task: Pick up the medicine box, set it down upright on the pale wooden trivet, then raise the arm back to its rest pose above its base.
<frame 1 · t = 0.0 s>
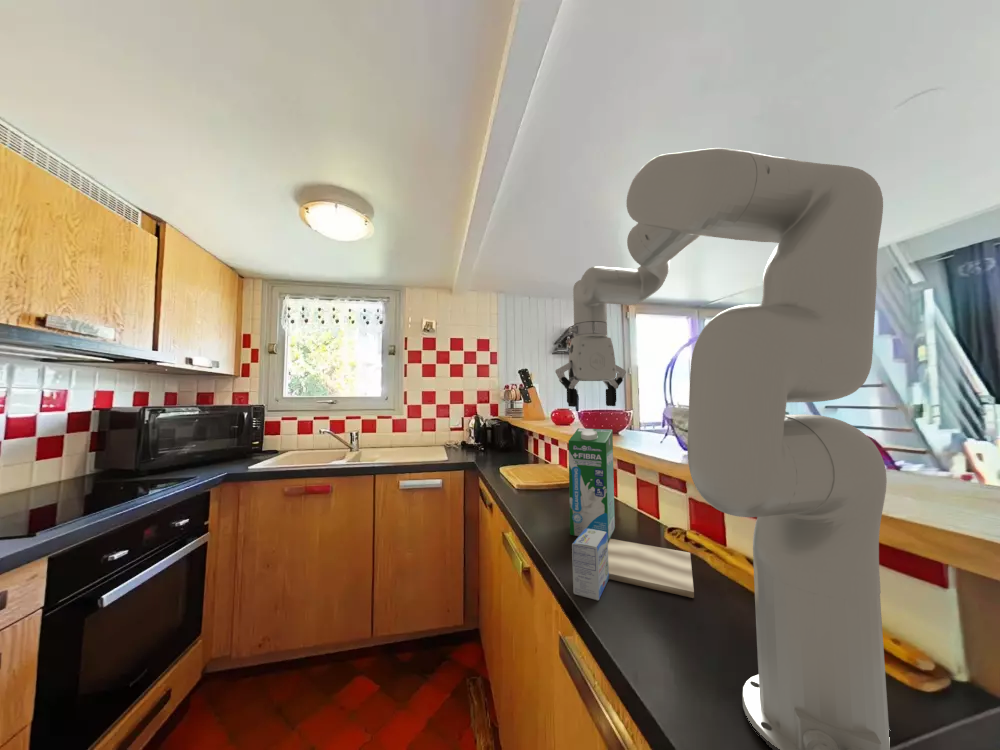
hand: (591, 406, 80), 31 cm above the counter, tool pointing down, fingers open, 9 cm apart
milk carton: (592, 532, 86), on the counter
medicine box: (591, 588, 61), on the counter
trivet: (645, 566, 68), on the counter
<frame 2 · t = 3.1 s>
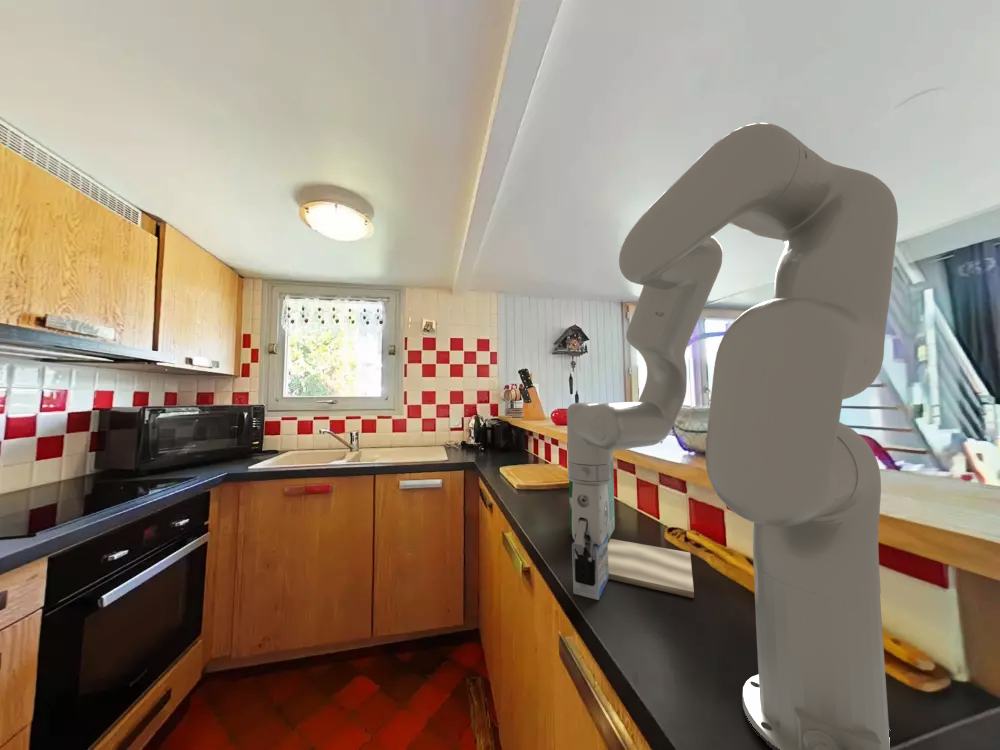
hand: (590, 570, 61), 3 cm above the counter, tool pointing down, fingers closed on medicine box, 8 cm apart
medicine box: (591, 587, 61), on the counter, touching gripper
everything else where it was.
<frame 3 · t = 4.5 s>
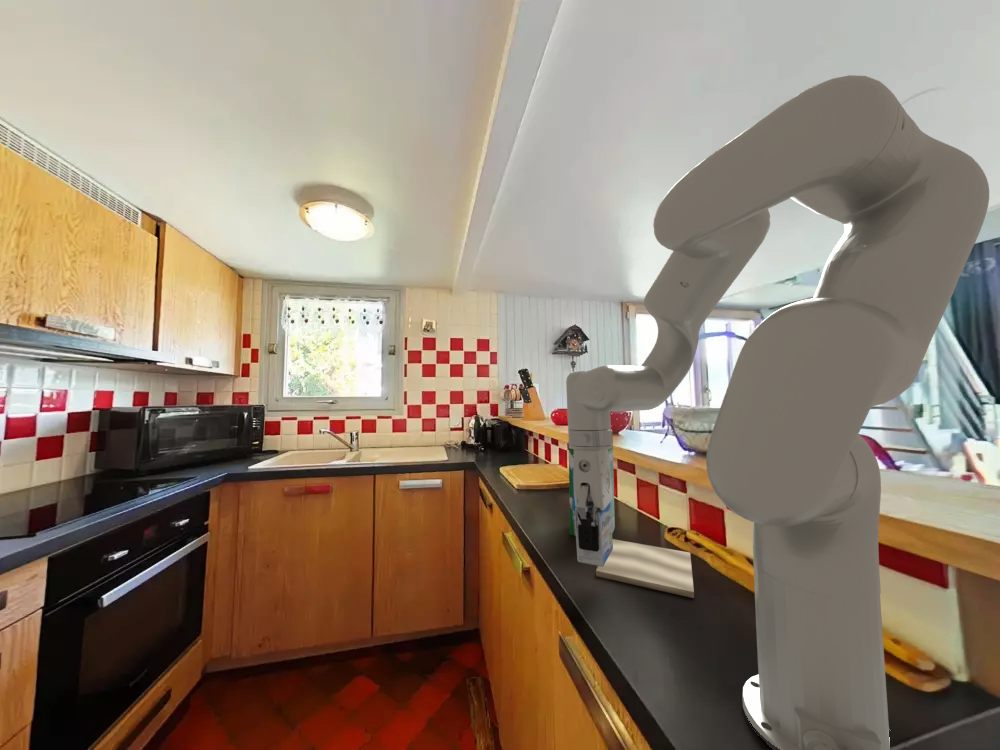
hand: (594, 539, 61), 8 cm above the counter, tool pointing down, fingers closed on medicine box, 8 cm apart
medicine box: (595, 557, 60), point 5 cm above the counter, touching gripper
everything else where it was.
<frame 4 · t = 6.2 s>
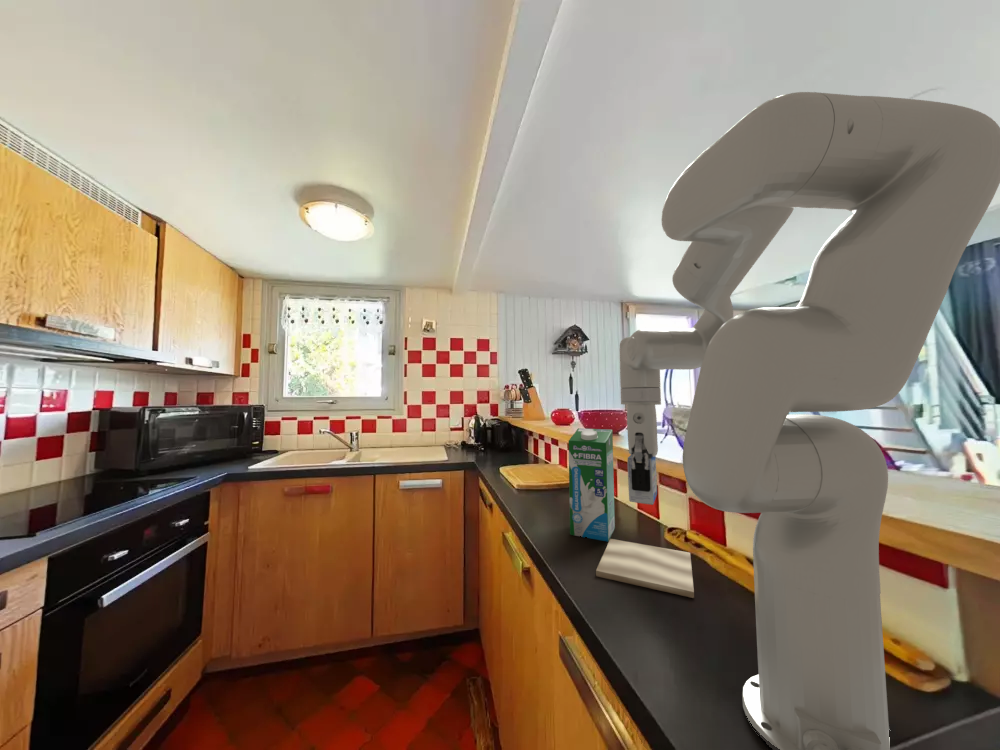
hand: (643, 484, 69), 16 cm above the counter, tool pointing down, fingers closed on medicine box, 8 cm apart
medicine box: (643, 499, 69), point 13 cm above the counter, touching gripper
everything else where it was.
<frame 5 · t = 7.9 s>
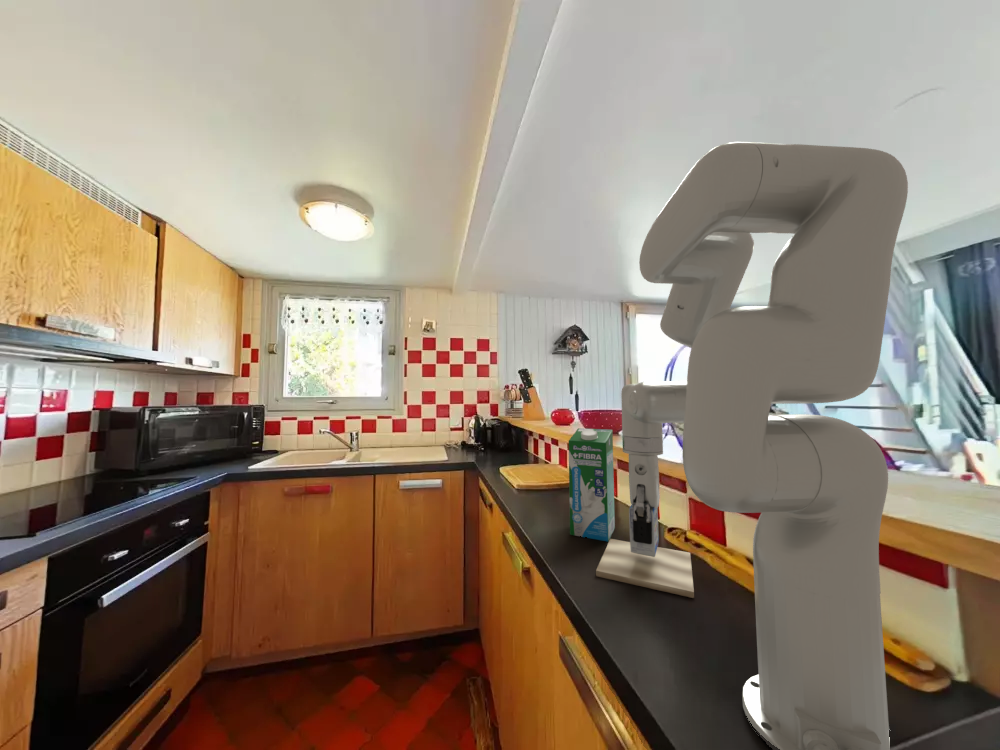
hand: (644, 533, 69), 6 cm above the counter, tool pointing down, fingers closed on medicine box, 8 cm apart
medicine box: (644, 548, 69), point 3 cm above the counter, touching gripper
everything else where it was.
when the fingers open (5 cm above the counter, at t = 9.3 s): medicine box drops 1 cm, resting on trivet.
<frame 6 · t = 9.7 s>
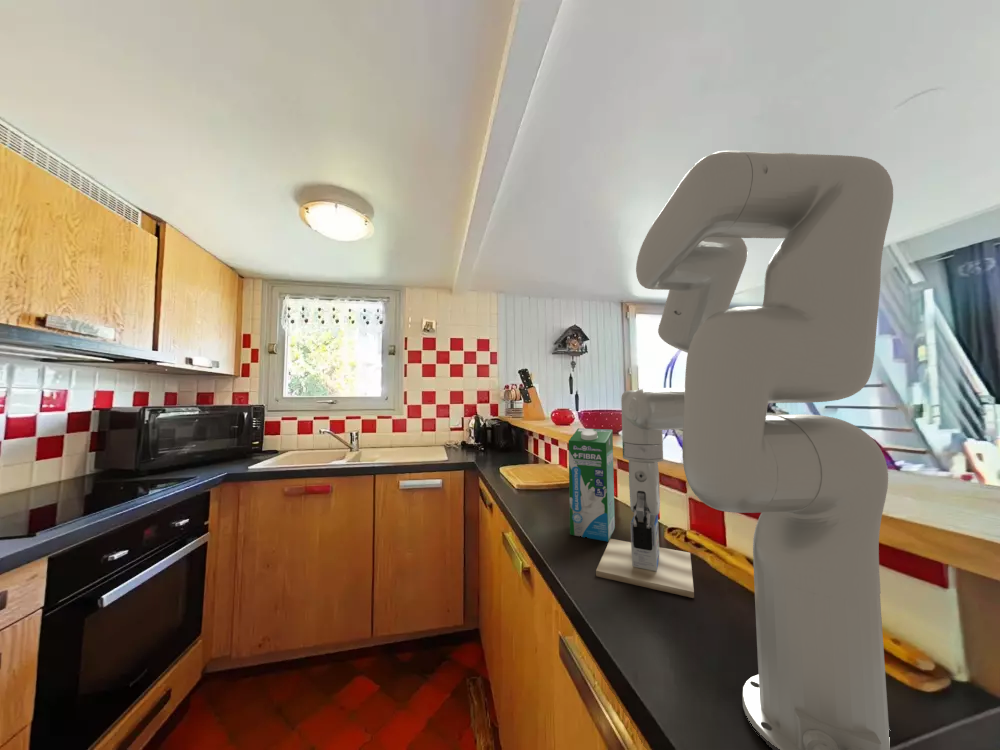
hand: (644, 538, 69), 5 cm above the counter, tool pointing down, fingers open, 9 cm apart
medicine box: (646, 562, 68), point 1 cm above the counter, touching trivet
everything else where it was.
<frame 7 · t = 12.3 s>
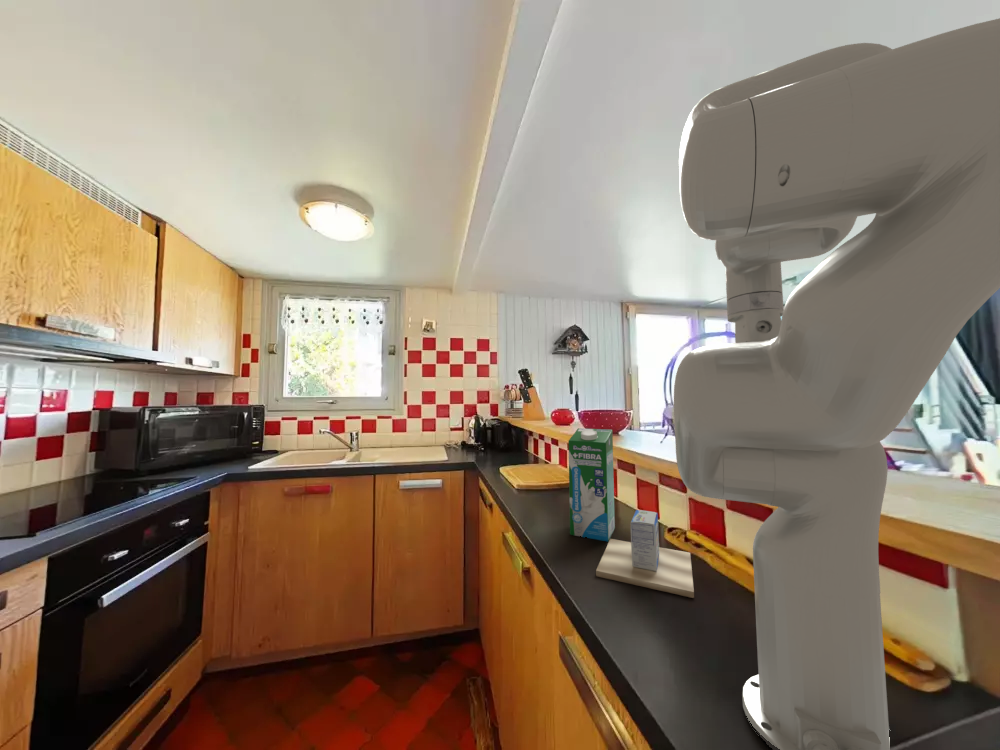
hand: (759, 412, 56), 31 cm above the counter, tool pointing down, fingers open, 9 cm apart
nothing on the counter moved.
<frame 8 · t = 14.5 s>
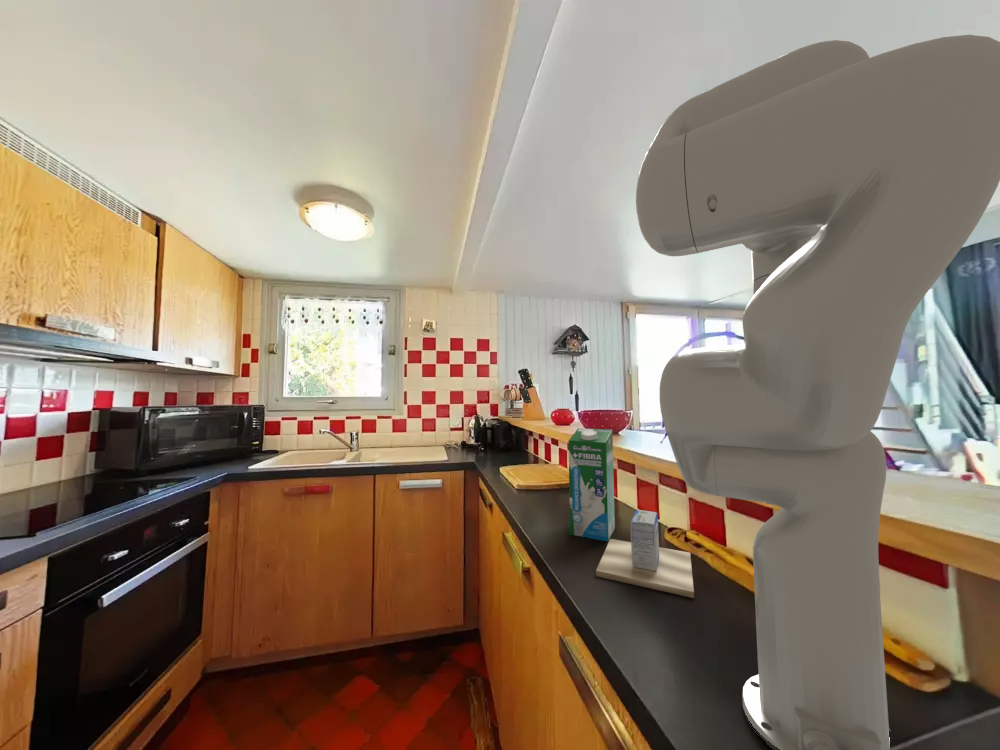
hand: (788, 397, 54), 33 cm above the counter, tool pointing down, fingers open, 9 cm apart
nothing on the counter moved.
at the end: medicine box inside the target area on the trivet (0.1 cm from its centre), point 0.8 cm above the trivet's base; medicine box tilted 0°; the gripper is holding nothing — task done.
